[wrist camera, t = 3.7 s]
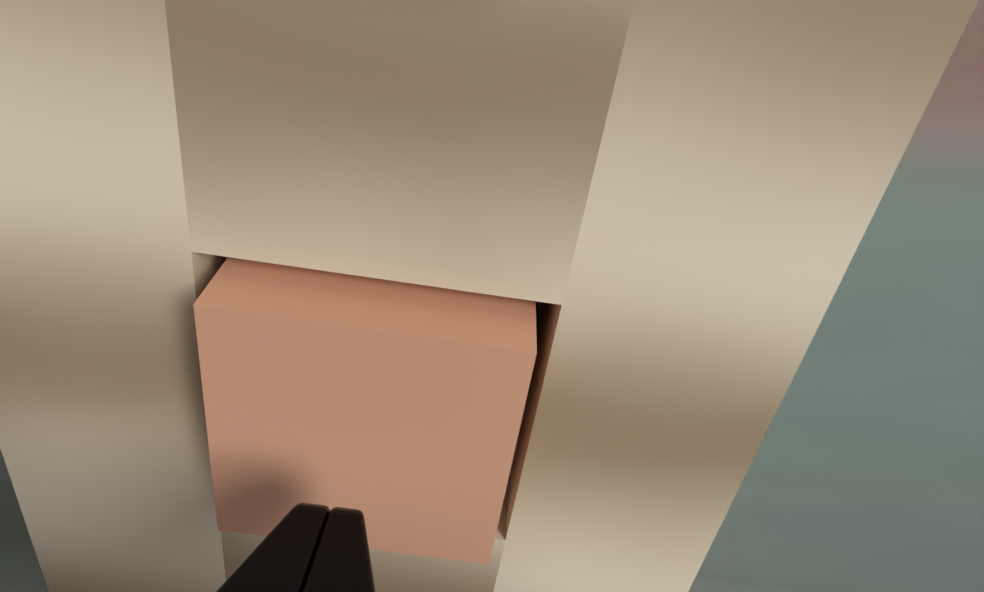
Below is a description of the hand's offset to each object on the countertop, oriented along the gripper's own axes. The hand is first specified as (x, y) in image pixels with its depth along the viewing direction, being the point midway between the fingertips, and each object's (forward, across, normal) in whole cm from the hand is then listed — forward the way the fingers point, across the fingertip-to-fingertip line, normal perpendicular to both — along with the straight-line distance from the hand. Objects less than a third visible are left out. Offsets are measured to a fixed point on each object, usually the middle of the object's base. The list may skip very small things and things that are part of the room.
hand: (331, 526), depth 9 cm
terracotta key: (+5, 0, 0) cm, 5 cm away
